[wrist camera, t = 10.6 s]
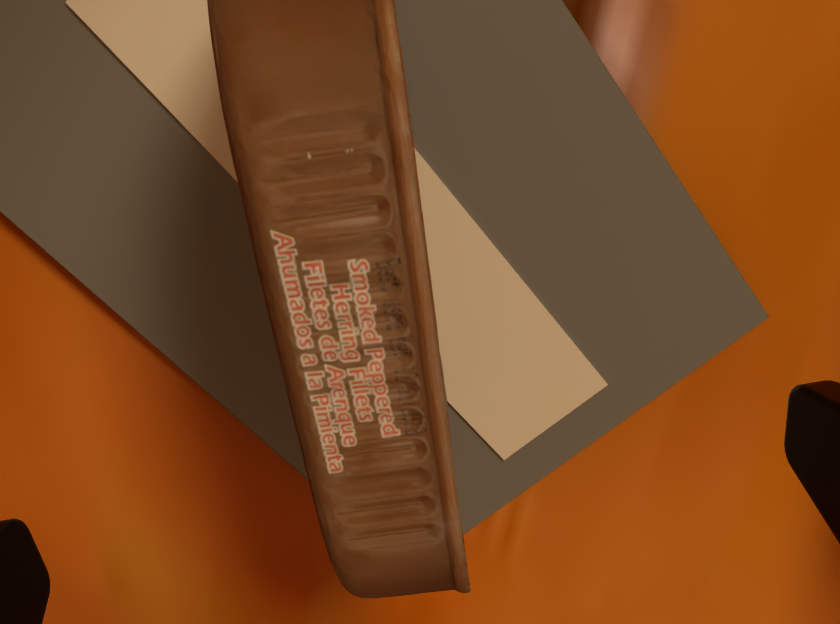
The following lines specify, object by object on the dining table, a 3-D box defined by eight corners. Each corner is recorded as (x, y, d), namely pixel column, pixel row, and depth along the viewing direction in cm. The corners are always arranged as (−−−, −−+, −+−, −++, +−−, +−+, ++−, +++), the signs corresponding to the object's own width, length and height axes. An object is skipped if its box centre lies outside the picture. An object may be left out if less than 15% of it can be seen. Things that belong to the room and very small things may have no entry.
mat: (-119, 93, 17) (-135, 96, 16) (317, -365, 14) (315, -380, 14) (410, 560, 24) (412, 573, 23) (759, 310, 21) (770, 318, 21)
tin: (452, 444, 22) (512, 684, 14) (350, 461, 21) (354, 712, 14) (379, -119, 16) (416, -252, 8) (238, -100, 15) (133, -217, 8)
